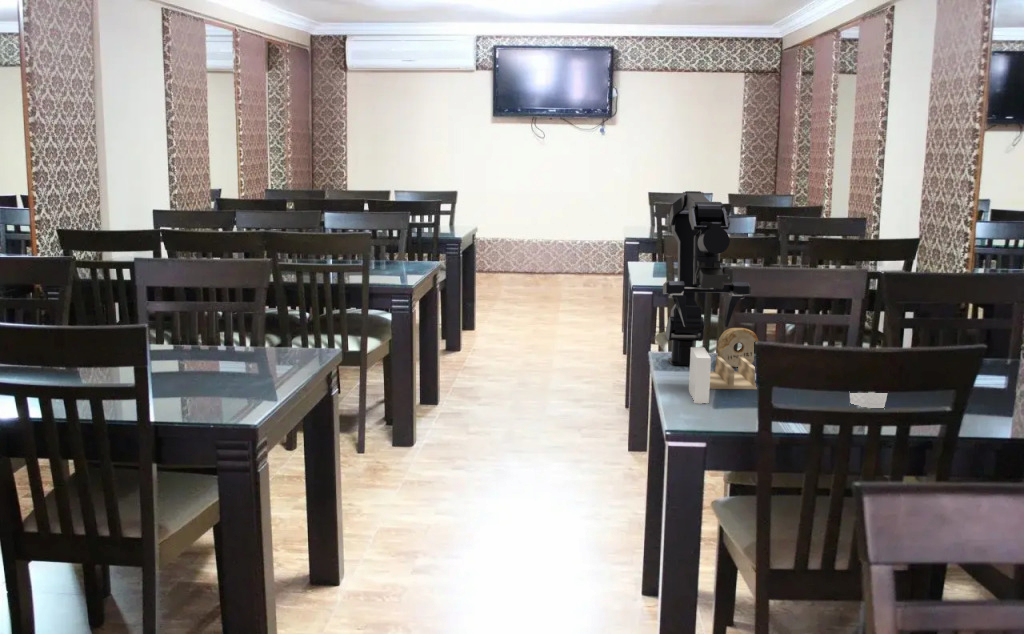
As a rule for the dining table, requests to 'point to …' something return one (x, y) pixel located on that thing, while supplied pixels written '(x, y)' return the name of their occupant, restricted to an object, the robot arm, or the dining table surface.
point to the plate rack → (732, 375)
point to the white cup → (868, 399)
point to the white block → (699, 374)
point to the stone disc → (731, 338)
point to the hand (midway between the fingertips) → (705, 327)
